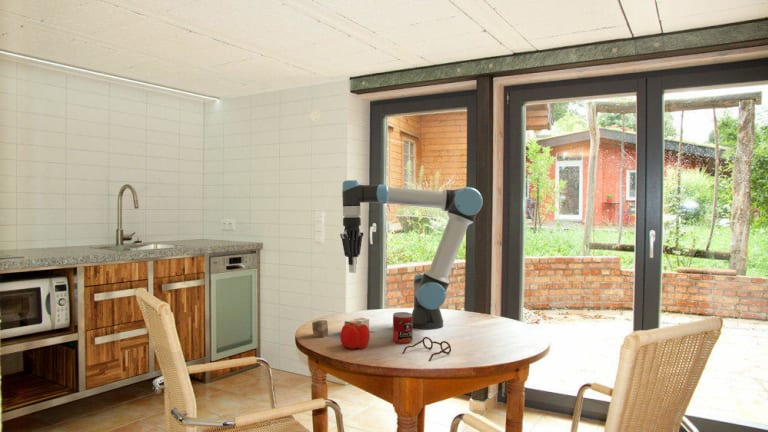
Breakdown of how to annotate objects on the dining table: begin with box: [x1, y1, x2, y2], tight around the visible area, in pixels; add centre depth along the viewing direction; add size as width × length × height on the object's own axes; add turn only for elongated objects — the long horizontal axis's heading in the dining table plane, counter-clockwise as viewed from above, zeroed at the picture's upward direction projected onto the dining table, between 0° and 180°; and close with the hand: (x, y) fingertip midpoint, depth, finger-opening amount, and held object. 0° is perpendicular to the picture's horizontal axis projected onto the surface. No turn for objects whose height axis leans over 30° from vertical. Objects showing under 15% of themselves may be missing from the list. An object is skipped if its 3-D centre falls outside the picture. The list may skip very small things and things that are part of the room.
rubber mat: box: [326, 330, 375, 340], centre depth 215 cm, size 11×19×1 cm, turn 141°
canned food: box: [392, 311, 413, 345], centre depth 205 cm, size 8×8×11 cm
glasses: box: [401, 336, 452, 362], centre depth 188 cm, size 13×13×5 cm
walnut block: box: [311, 319, 329, 338], centre depth 211 cm, size 4×4×6 cm
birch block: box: [343, 317, 370, 330], centre depth 218 cm, size 5×5×10 cm
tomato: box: [339, 322, 371, 350], centre depth 195 cm, size 11×12×9 cm
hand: (352, 272), depth 219 cm, fingers closed
